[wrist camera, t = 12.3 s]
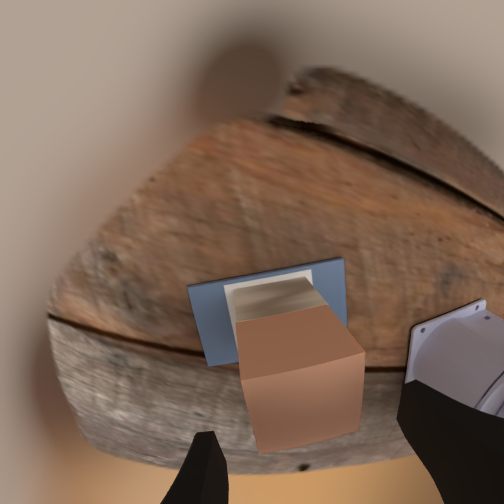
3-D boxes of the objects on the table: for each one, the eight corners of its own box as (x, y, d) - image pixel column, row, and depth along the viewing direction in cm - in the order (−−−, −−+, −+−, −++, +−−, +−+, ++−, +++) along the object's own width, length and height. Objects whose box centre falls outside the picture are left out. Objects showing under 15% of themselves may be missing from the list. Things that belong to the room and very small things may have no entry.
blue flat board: (341, 257, 19) (343, 259, 18) (345, 335, 20) (347, 338, 20) (187, 285, 18) (187, 288, 18) (208, 363, 20) (208, 367, 19)
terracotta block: (327, 304, 14) (365, 351, 10) (330, 375, 15) (359, 429, 11) (235, 322, 14) (240, 380, 9) (250, 392, 15) (259, 454, 10)
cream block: (304, 276, 18) (328, 304, 14) (310, 337, 19) (330, 375, 15) (233, 289, 18) (236, 321, 14) (245, 350, 19) (251, 392, 15)
